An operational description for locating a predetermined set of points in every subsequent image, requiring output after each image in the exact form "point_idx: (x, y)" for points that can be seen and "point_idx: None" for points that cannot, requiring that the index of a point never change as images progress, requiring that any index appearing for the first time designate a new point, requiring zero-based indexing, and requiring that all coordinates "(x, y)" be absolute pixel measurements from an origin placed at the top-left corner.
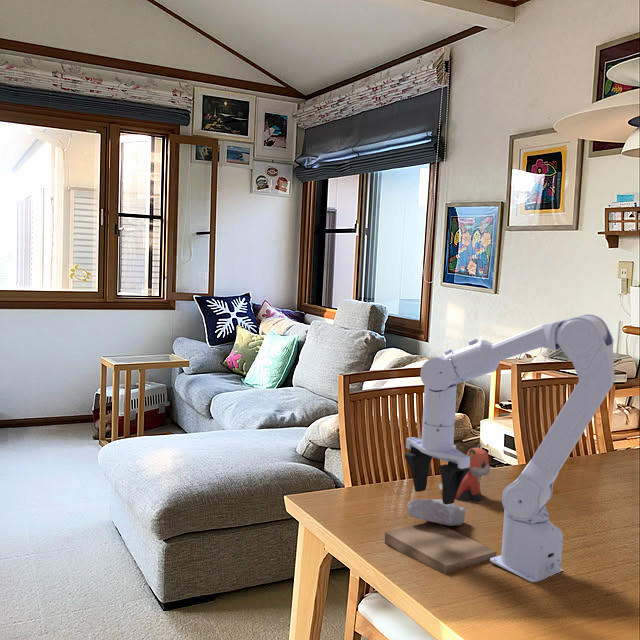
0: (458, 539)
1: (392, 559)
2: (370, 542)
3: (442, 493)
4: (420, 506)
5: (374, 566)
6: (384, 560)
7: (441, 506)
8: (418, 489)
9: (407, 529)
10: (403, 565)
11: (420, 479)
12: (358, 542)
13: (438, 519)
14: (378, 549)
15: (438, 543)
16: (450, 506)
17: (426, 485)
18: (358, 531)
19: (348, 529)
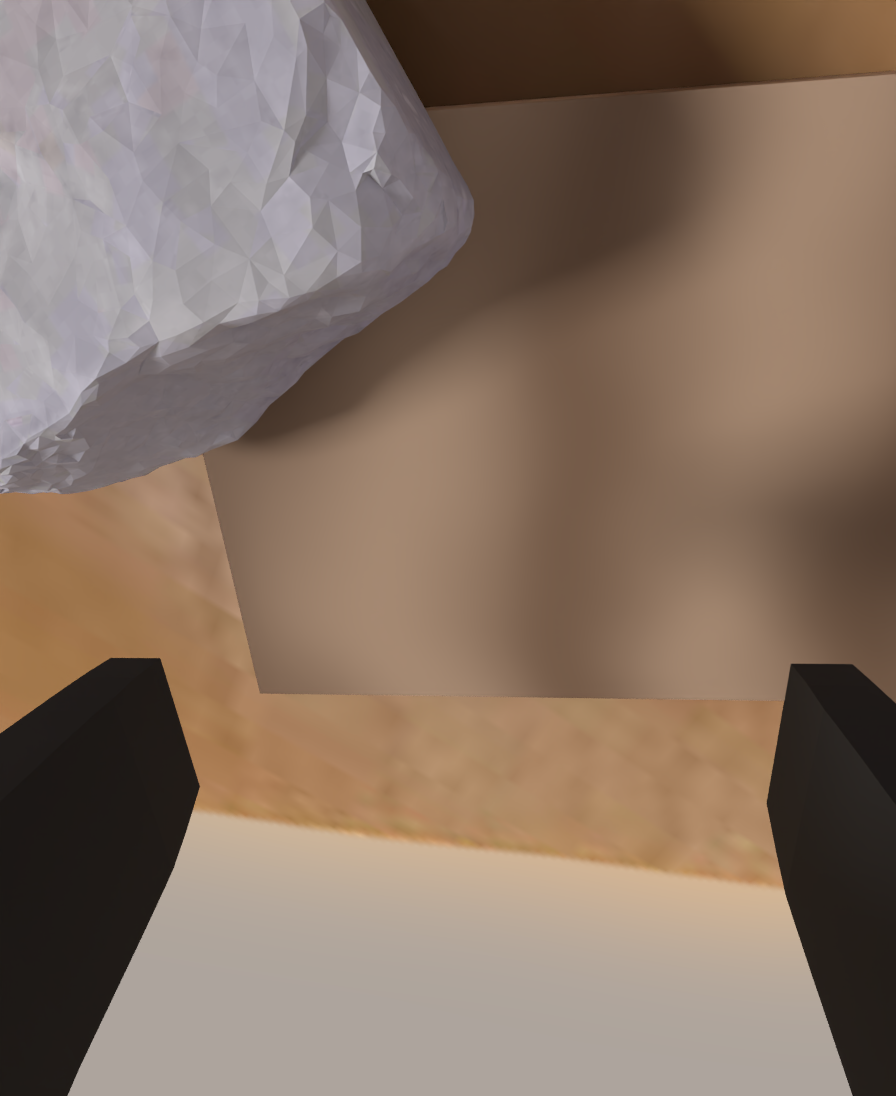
0: (669, 240)
1: (527, 741)
2: (247, 704)
3: (823, 990)
4: (118, 444)
5: (554, 856)
6: (516, 781)
7: (301, 304)
8: (184, 799)
9: (261, 522)
10: (632, 740)
11: (90, 906)
12: (225, 756)
13: (362, 318)
14: (362, 724)
15: (632, 487)
16: (366, 185)
17: (118, 694)
18: (56, 668)
19: (13, 698)
